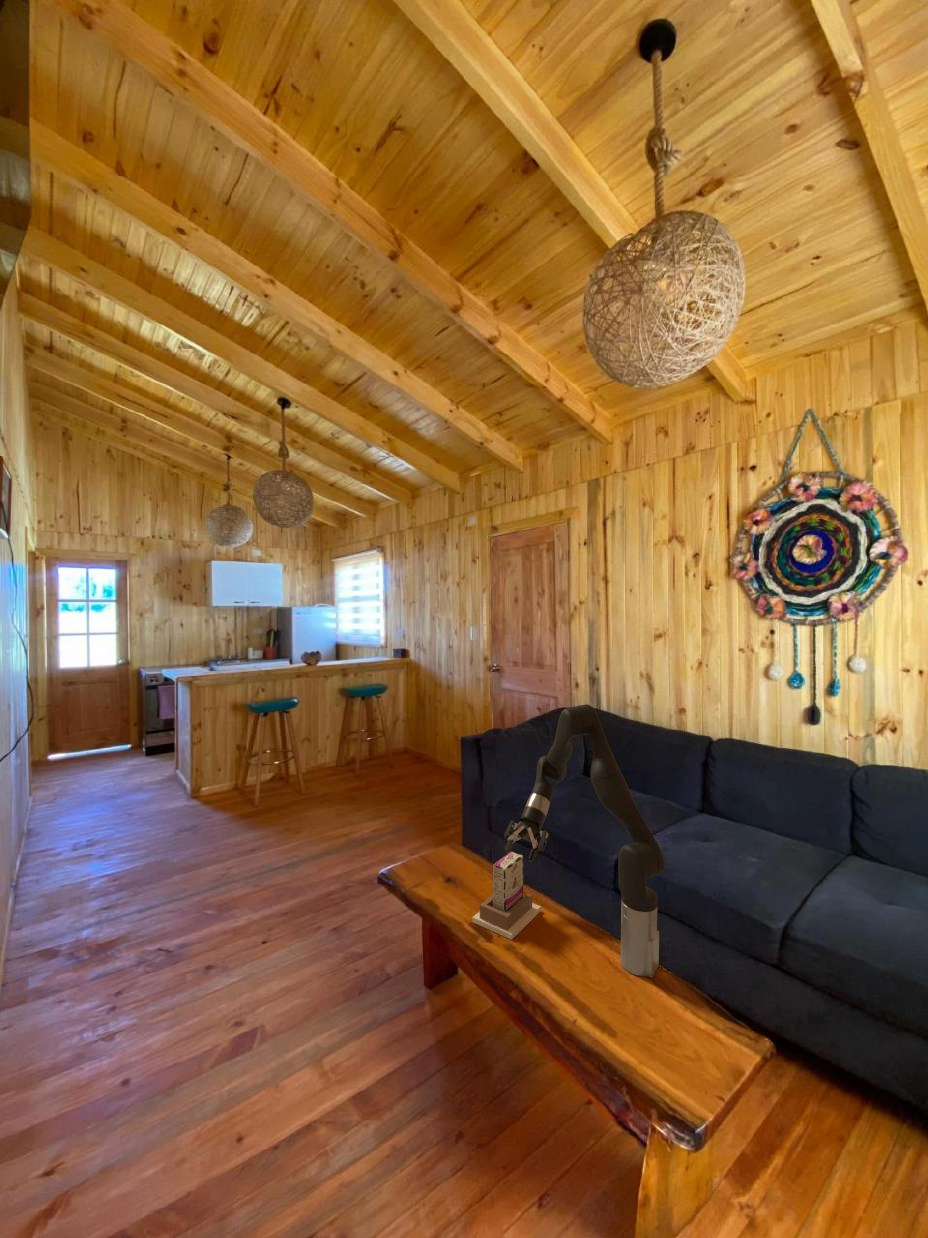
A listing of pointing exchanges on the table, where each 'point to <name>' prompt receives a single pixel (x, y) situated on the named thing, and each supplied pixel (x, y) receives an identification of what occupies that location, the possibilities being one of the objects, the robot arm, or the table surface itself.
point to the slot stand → (506, 916)
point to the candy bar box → (507, 881)
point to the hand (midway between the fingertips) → (518, 857)
